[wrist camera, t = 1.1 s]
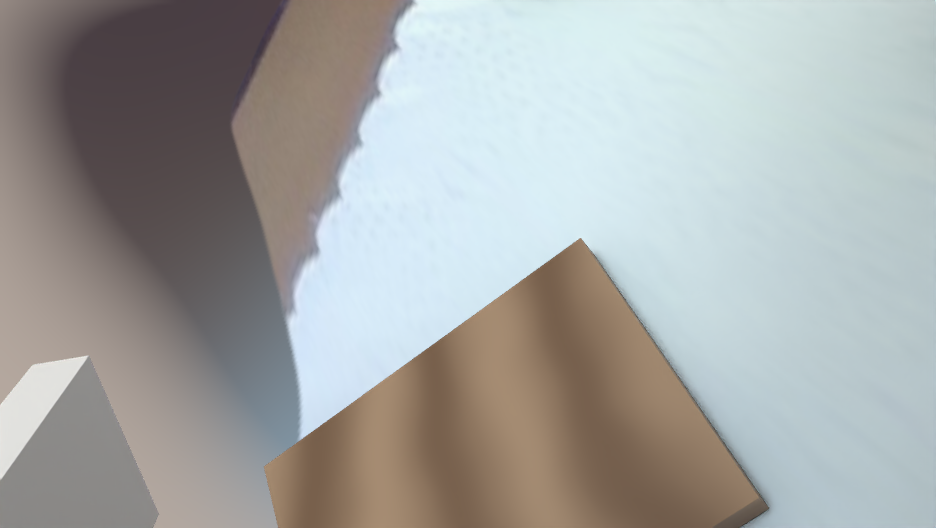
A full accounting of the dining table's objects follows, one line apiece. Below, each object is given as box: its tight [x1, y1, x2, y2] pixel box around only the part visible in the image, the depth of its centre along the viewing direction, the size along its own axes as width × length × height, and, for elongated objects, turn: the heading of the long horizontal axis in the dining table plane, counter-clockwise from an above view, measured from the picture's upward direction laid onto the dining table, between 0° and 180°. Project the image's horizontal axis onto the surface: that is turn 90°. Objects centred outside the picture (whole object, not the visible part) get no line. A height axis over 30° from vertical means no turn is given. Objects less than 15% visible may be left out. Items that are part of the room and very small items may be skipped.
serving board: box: [264, 238, 769, 528], centre depth 33 cm, size 18×13×2 cm
